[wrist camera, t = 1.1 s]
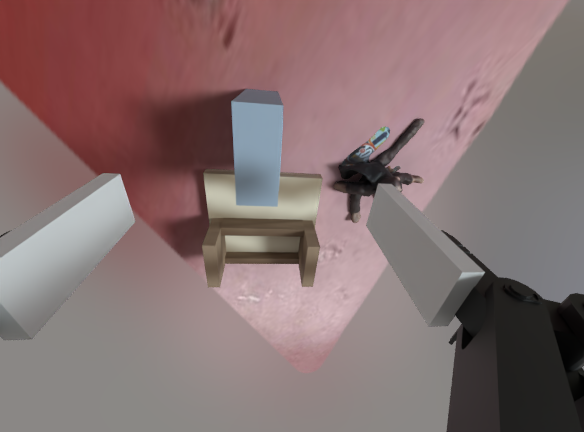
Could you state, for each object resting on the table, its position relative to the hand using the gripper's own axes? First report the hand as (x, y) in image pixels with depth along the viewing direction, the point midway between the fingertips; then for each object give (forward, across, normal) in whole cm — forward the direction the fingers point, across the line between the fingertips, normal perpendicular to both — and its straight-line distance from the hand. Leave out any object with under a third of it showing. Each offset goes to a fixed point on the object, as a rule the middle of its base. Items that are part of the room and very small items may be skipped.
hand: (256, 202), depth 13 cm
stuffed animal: (+19, +16, -5) cm, 25 cm away
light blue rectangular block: (+18, 0, 0) cm, 19 cm away
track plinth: (+18, 0, -12) cm, 22 cm away
